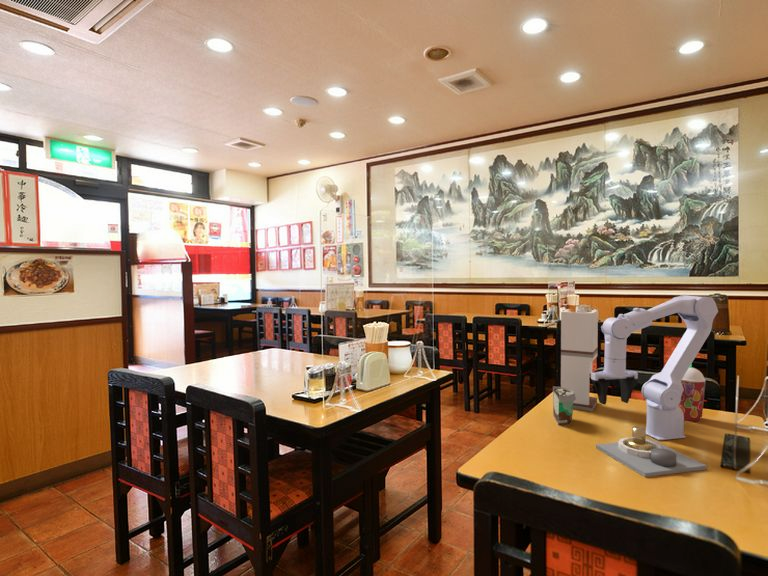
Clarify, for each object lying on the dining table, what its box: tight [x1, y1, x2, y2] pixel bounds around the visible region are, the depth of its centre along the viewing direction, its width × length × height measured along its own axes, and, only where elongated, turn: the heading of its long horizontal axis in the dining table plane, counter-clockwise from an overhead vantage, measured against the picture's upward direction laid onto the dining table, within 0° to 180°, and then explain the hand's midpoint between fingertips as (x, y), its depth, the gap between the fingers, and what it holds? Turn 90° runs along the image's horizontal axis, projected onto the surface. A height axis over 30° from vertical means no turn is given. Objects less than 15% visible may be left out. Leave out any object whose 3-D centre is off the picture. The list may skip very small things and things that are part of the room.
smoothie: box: [678, 362, 707, 422], centre depth 149 cm, size 8×8×20 cm
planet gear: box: [625, 425, 653, 451], centre depth 123 cm, size 6×6×6 cm
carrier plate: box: [595, 437, 708, 478], centre depth 120 cm, size 18×18×4 cm
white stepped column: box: [560, 308, 599, 412], centre depth 165 cm, size 11×11×35 cm
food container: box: [552, 386, 576, 426], centre depth 149 cm, size 12×6×10 cm, turn 168°
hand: (613, 402), depth 134 cm, fingers open, 7 cm apart
